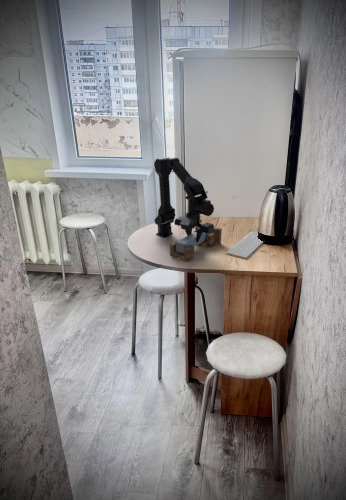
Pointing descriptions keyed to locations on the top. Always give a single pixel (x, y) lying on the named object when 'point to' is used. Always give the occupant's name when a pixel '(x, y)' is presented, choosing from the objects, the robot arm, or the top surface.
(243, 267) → the top surface
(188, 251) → the headboard posts
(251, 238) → the baseboard molding
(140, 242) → the top surface
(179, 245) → the bed rail
